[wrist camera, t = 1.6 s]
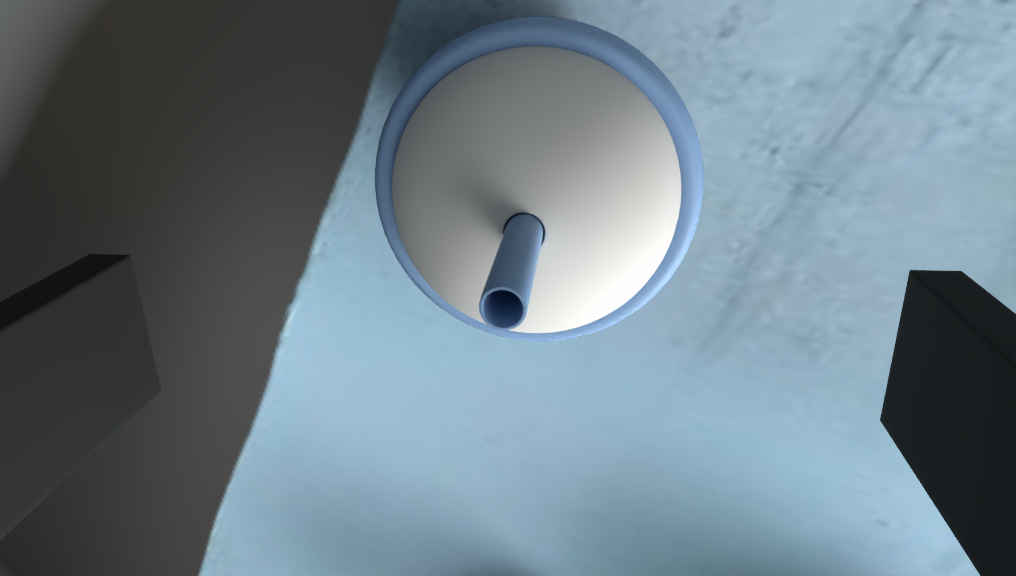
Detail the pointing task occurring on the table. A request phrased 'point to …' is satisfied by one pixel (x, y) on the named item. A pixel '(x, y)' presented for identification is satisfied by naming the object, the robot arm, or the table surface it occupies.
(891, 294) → the table surface
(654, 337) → the table surface
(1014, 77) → the table surface
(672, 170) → the cup with straw
